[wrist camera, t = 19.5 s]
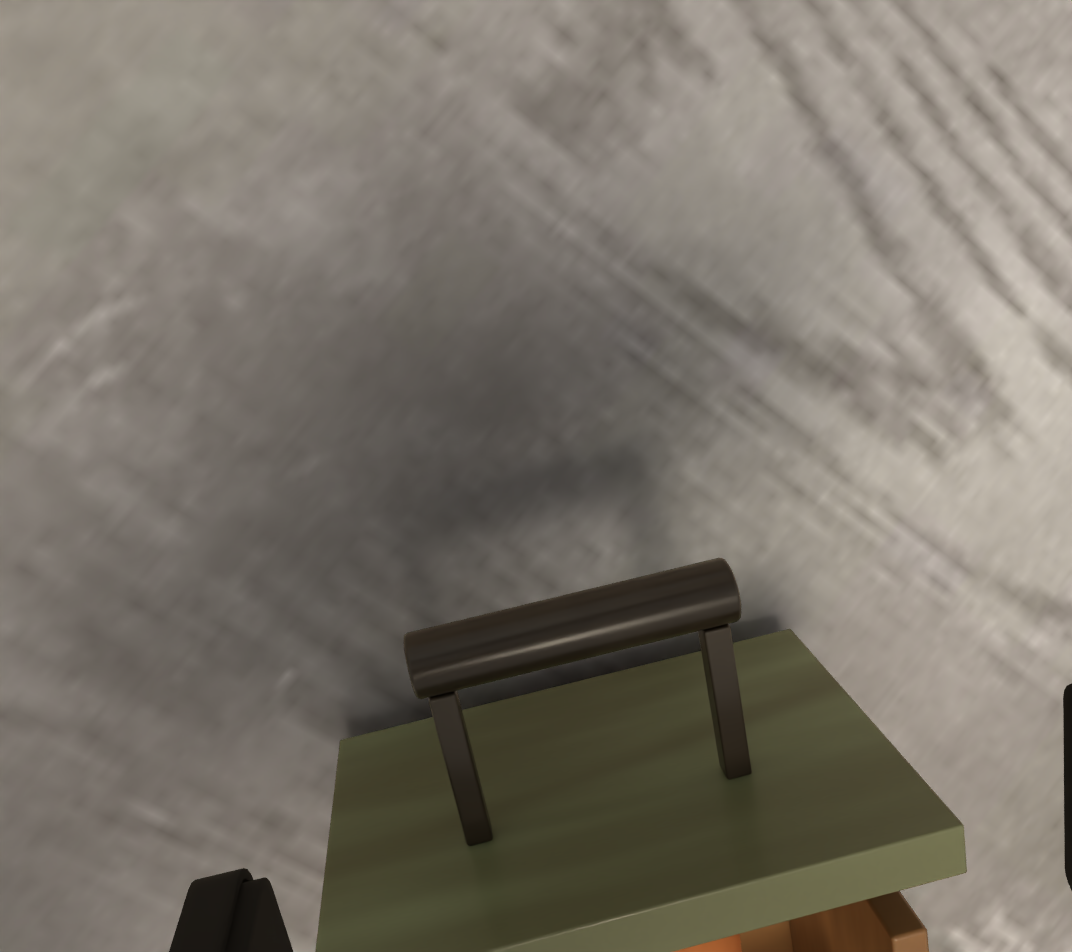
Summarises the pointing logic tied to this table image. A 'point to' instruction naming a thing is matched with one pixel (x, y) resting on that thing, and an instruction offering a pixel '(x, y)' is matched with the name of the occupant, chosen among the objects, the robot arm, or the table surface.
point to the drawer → (629, 794)
